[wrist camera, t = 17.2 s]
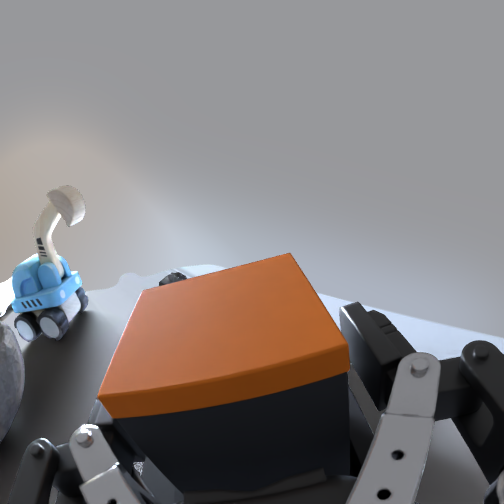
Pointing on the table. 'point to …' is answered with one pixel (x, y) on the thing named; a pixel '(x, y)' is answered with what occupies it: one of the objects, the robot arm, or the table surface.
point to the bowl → (9, 378)
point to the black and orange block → (233, 379)
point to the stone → (5, 295)
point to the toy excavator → (49, 274)
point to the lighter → (172, 278)
